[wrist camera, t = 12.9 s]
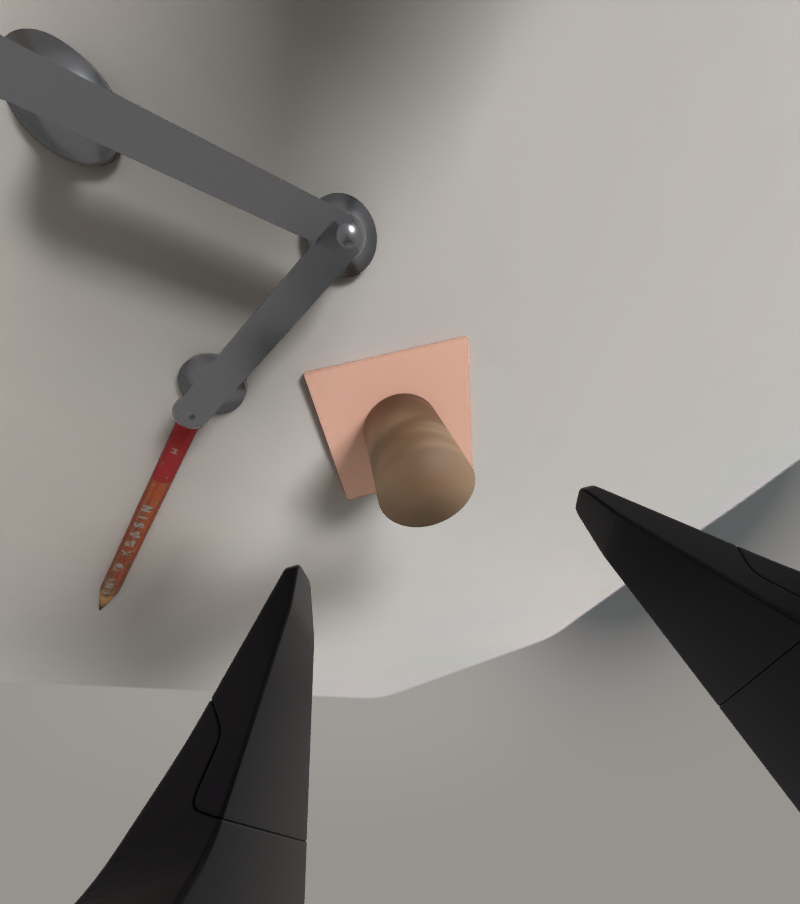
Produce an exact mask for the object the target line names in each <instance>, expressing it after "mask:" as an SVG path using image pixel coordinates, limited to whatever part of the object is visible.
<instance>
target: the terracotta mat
mask: <svg viewBox="0 0 800 904" xmlns="http://www.w3.org/2000/svg"><path fill="white" fill-rule="evenodd" d="M304 377H305V380H306V383H307V385H308V388H309V391H310V394H311V397H312V400H313V403H314V405H315V408H316V411H317V414H318V417H319V420H320V423H321V425H322V428H323V431H324V434H325V437H326V440H327V443H328V445H329V448H330V451H331V454H332V457H333V460H334V463H335V465H336V468H337V471H338V474H339V477H340V480H341V483H342V485H343V488H344V491H345V494H346V497H347V500H349V499H353V498H356V497H360V496H364V495H368V494H372V493H376V488H375V483H374V478H373V473H372V469H371V464H370V459H369V454H368V450H367V445H366V440H365V435H364V425H365V421H366V418H367V416H368V414H369V412H370V411H371V410H372V408H373V407H374V406H375V405H376V404H377V403H379V402H380V401H381V400H383V399H385V398H387V397H389V396H392V395H395V394H402V393H407V394H414V395H417V396H420V397H422V398H424V399H425V400H427V401H428V402H429V403H430V404H431V405H432V407H433V408H434V410H435V411H436V413H437V414H438V416H439V417H440V419H441V420H442V422H443V423H444V425H445V426H446V428H447V429H448V431H449V432H450V434H451V435H452V437H453V438H454V440H455V441H456V443H457V444H458V446H459V447H460V449H461V450H462V452H463V454H464V455H465V457H466V458H467V460H468V461H469V463H470V464H471V466H472V468H473V463H472V435H471V407H470V379H469V351H468V338H466V337H460V338H456V339H451V340H447V341H442V342H438V343H434V344H429V345H425V346H420V347H416V348H411V349H407V350H402V351H398V352H394V353H389V354H385V355H380V356H376V357H371V358H367V359H362V360H358V361H354V362H349V363H345V364H340V365H336V366H331V367H327V368H323V369H318V370H314V371H309V372H305V373H304Z"/></svg>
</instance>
